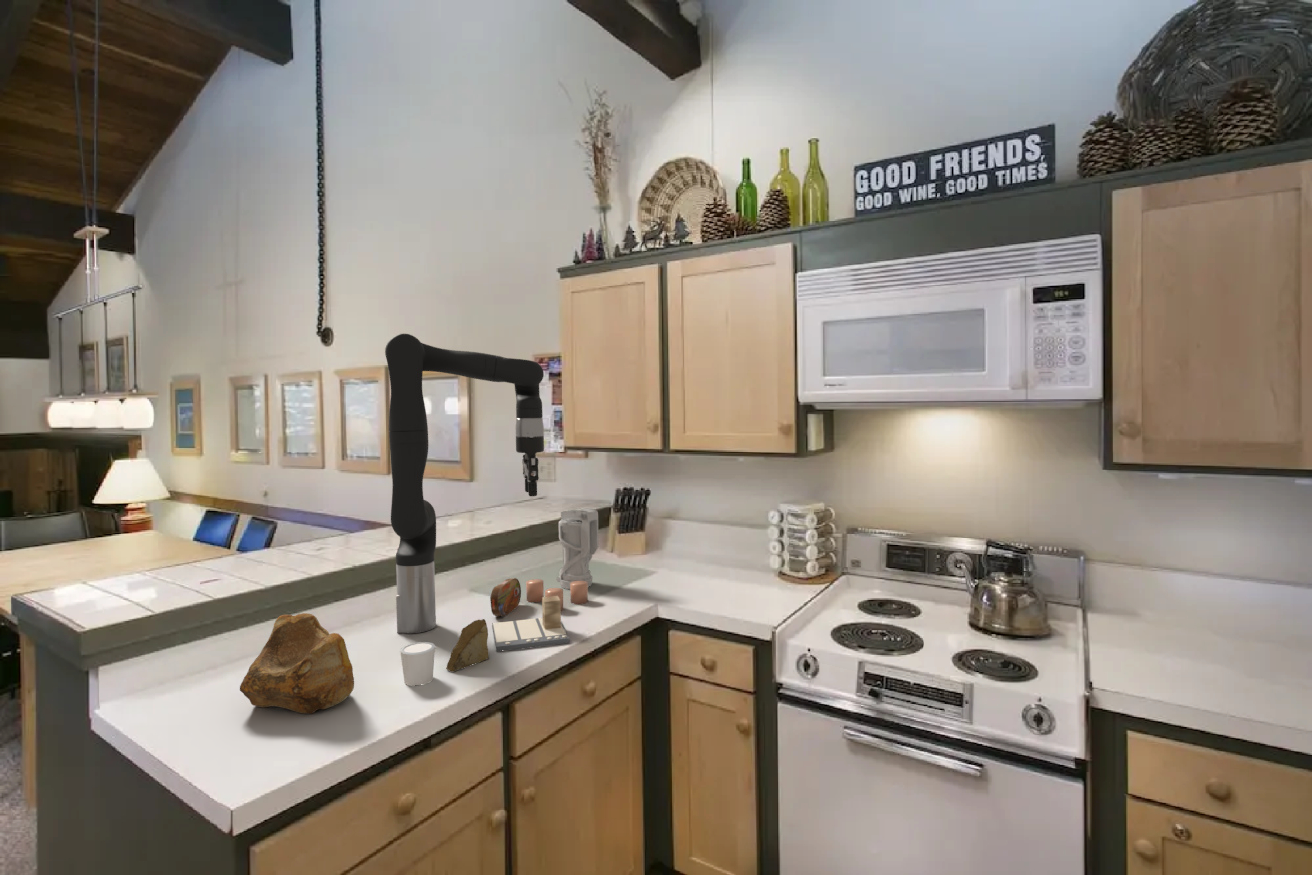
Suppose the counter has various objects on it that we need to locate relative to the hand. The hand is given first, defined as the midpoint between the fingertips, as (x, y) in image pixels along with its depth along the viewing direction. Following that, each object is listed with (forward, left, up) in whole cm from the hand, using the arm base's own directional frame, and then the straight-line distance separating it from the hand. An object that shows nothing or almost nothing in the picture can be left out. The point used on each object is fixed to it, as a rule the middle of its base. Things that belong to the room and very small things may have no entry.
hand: (530, 493), depth 175 cm
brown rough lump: (-51, -38, -33) cm, 72 cm away
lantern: (+17, +22, -33) cm, 43 cm away
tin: (-7, +4, -33) cm, 34 cm away
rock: (-18, -30, -33) cm, 48 cm away
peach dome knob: (+6, +1, -33) cm, 34 cm away
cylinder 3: (+14, +6, -33) cm, 37 cm away
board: (-3, -17, -33) cm, 37 cm away
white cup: (-28, -36, -33) cm, 56 cm away
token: (+3, -16, -32) cm, 36 cm away
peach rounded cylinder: (+2, +12, -33) cm, 35 cm away
